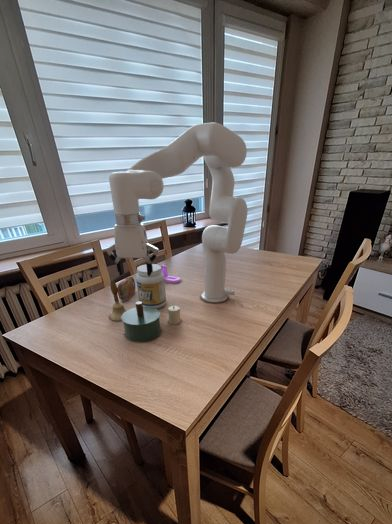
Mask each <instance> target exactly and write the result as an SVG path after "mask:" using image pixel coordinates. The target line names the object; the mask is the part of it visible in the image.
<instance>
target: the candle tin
mask: <svg viewBox="0 0 392 524" xmlns="http://www.w3.org/2000/svg"><path fill="white" fill-rule="evenodd" d="M122 324H123V328H124V334H125V337H126V338H127V339H128V340H129V341H132V342H135V343H146V342H150V341H153V340H155V339H157V338H158V337H159V336H160V335H161V332H162V331H161V322H160V318H159V319H158V320H157V321H155V322H153V323H151V324H148V325H143V326H131V325H127V324H125V323H123V322H122Z"/></svg>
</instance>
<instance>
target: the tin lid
mask: <svg viewBox="0 0 392 524" xmlns="http://www.w3.org/2000/svg"><path fill="white" fill-rule="evenodd" d="M160 317H161V312H160V310H158V308H157V309H155V308H152V307H143V305H142V302H140V301H139V300H138V301H136V302H135V307H133V308H130V309H128V310H127V309H126V312H124V313H123V314H122V316H121V322H122V324H123V323H125V324H127V325H131V326H143V325H148V324H151V323H153V322H155V321H157V320H158V319H159V320H160Z"/></svg>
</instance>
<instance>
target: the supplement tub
mask: <svg viewBox="0 0 392 524" xmlns="http://www.w3.org/2000/svg"><path fill="white" fill-rule="evenodd" d="M146 264H147V263H146ZM146 264H142V265H139V266H137V268H136V276H135V283H136V289H137V294H138V295H137V296H138V302H139V301H140V302H142V305H143V307H152V308H155V309H157V310H158V309H160V308H162V307H164V306H165V305H166V304H167V296H166V295H167V294H166V284H165V283H166V282H165V281H164V274H163V273H162V270H161V266H162V265H159V264H155V263H152V268H153V272H151V275H150V276H148V274H147V266H146Z"/></svg>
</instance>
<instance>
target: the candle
mask: <svg viewBox="0 0 392 524" xmlns="http://www.w3.org/2000/svg"><path fill="white" fill-rule="evenodd" d="M180 310H181V309H180V307H179V306H178V305H170V306H168V307H167V314H168V323H169V324H171V325H178V324H180V323H181V311H180Z"/></svg>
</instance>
